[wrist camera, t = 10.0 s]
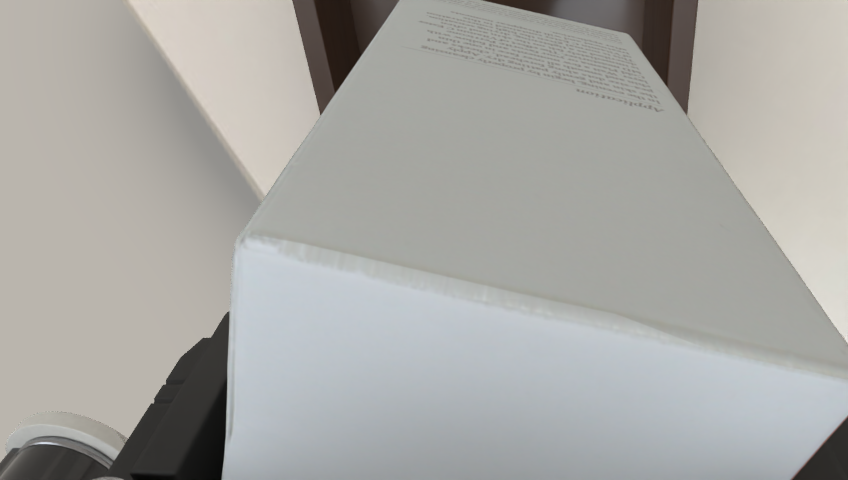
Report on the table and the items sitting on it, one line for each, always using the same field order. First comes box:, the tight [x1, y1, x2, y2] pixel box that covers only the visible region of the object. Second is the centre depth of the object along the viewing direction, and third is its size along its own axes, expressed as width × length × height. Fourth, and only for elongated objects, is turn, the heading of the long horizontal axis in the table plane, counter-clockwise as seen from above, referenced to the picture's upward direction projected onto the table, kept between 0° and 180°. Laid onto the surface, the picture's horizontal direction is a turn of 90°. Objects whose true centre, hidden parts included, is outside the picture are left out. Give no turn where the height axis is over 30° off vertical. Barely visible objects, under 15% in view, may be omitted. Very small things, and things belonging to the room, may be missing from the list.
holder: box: [292, 0, 698, 115], centre depth 24 cm, size 13×13×5 cm
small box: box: [222, 0, 848, 480], centre depth 13 cm, size 8×6×13 cm
